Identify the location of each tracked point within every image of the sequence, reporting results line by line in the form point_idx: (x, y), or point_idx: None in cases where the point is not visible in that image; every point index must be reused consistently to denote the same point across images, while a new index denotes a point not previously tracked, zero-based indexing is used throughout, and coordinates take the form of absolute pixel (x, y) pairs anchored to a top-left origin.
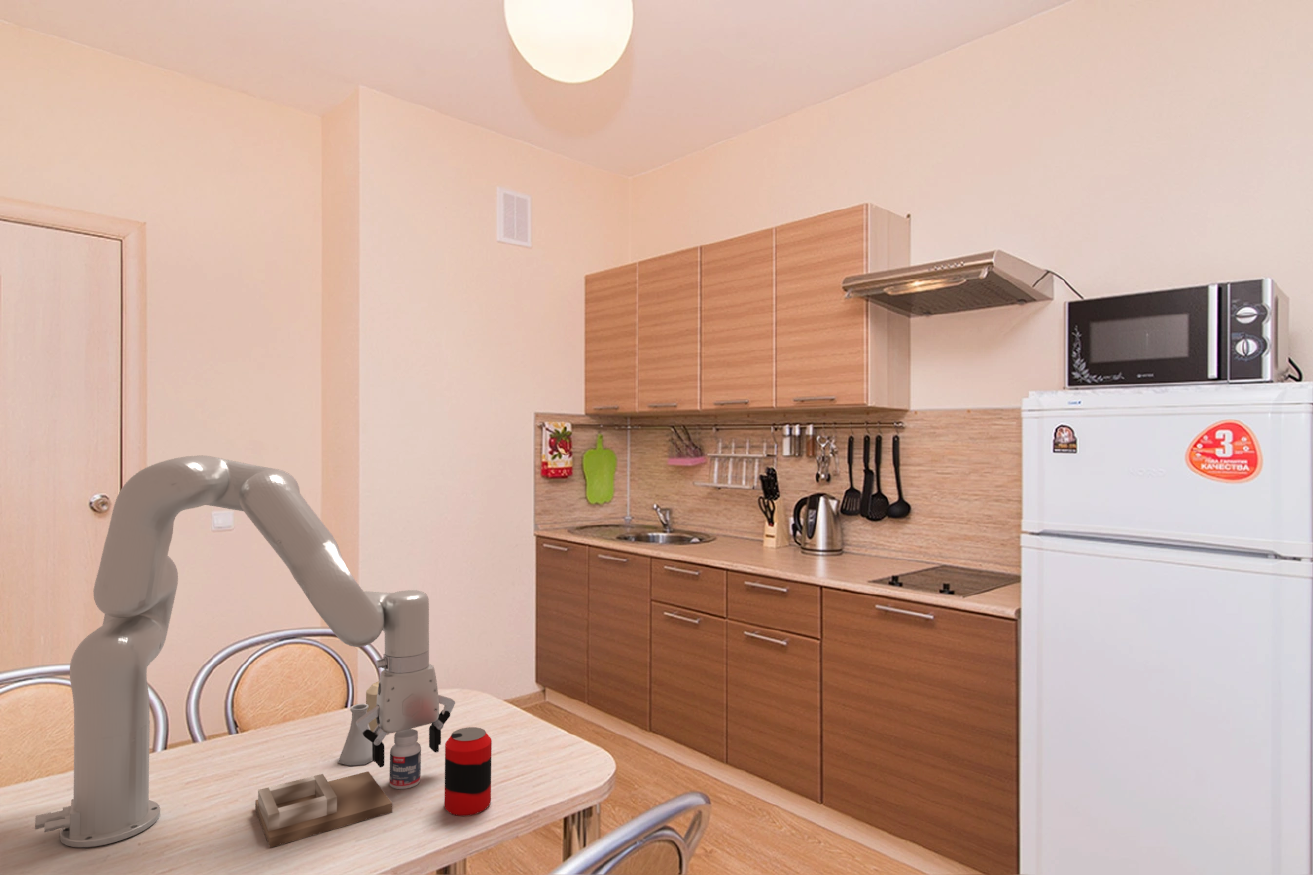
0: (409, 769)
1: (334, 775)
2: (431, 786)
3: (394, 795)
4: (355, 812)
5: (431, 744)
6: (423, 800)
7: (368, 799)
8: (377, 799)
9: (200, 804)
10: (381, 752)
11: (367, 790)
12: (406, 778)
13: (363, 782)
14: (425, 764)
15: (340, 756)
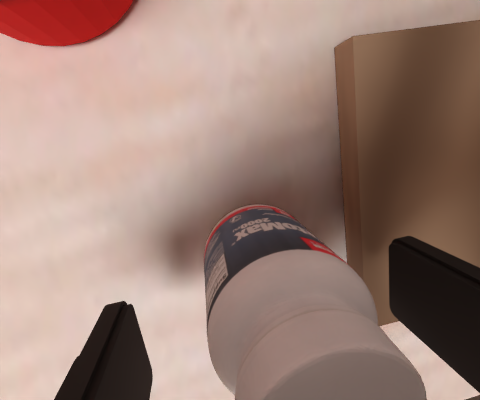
0: (265, 225)
1: (418, 363)
2: (172, 186)
3: (302, 173)
4: (476, 30)
5: (139, 366)
6: (217, 85)
7: (415, 115)
8: (390, 98)
9: None
10: (471, 269)
11: (401, 188)
12: (269, 212)
13: None
14: (170, 357)
15: None
